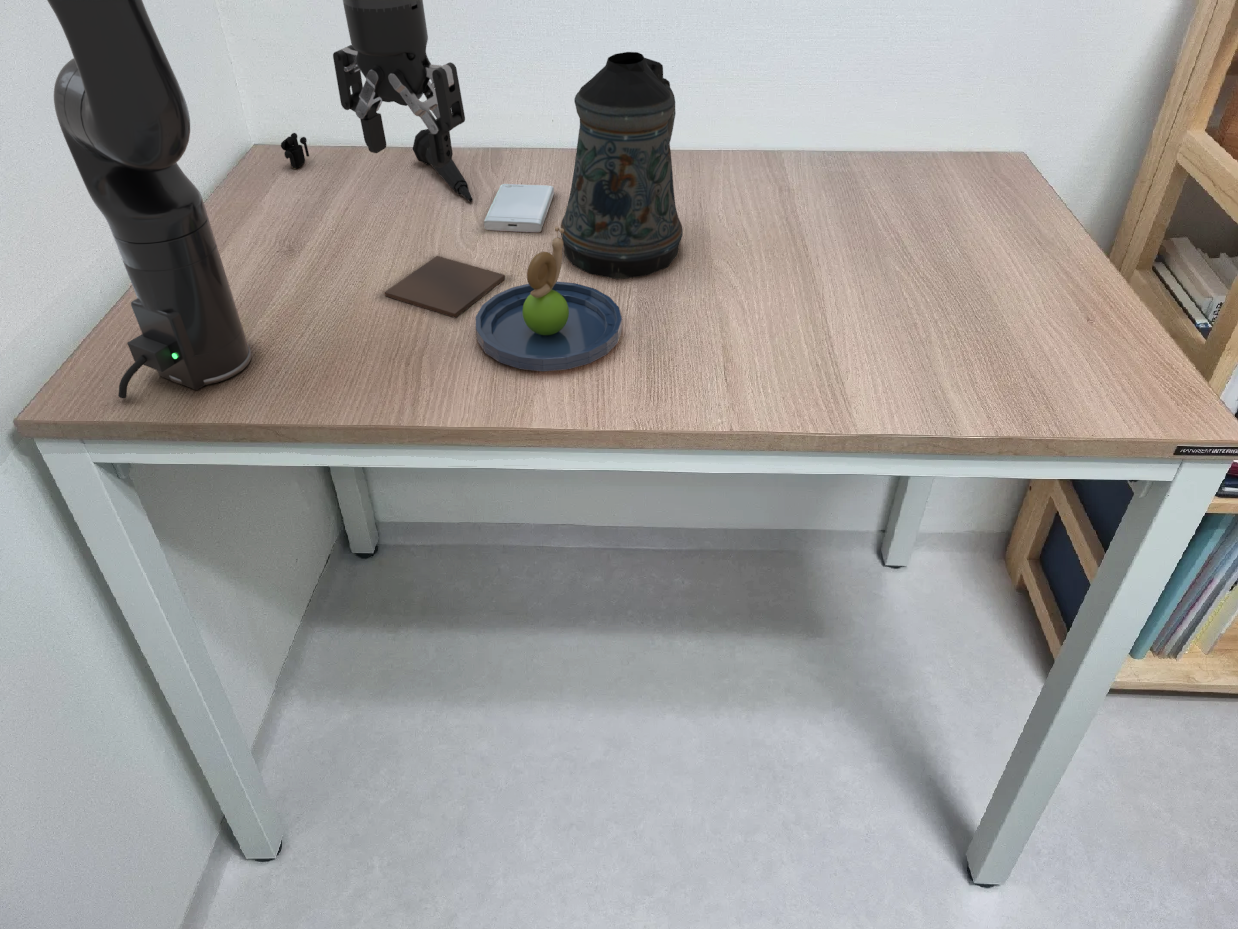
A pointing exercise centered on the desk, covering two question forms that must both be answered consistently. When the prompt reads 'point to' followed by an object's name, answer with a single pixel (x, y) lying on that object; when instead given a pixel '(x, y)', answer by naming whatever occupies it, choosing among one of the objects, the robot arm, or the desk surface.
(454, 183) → the microphone
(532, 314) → the snail figurine
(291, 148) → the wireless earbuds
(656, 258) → the beer stein
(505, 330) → the plate
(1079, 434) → the desk surface
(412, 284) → the coaster
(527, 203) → the hard drive
